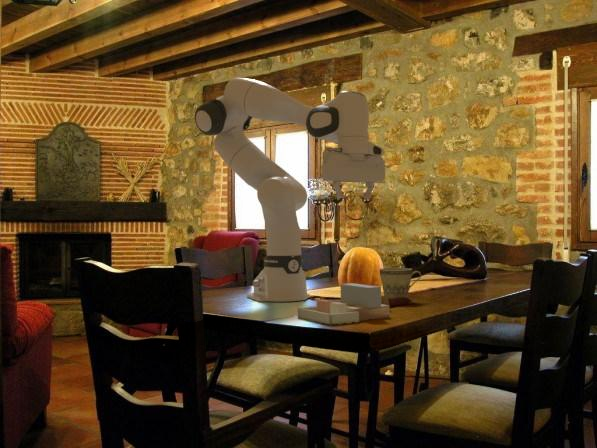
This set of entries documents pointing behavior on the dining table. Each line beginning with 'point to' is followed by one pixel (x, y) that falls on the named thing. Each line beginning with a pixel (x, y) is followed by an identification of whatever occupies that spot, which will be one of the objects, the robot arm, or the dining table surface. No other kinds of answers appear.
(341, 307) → the tile
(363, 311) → the pale flat square block
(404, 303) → the gavel
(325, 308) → the tile
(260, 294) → the robot arm
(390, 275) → the ceramic cup
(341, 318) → the tray
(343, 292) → the small grey box
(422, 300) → the dining table surface
